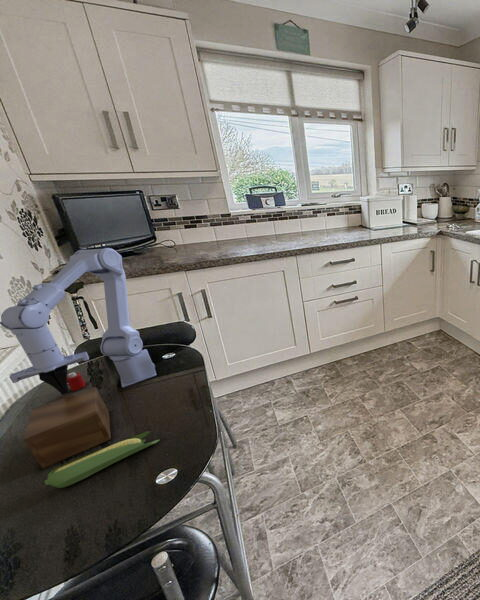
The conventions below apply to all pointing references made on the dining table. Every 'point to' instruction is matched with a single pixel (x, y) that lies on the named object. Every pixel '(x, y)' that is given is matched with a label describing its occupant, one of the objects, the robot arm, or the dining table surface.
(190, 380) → the dining table surface
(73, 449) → the cabinet
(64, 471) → the edible corn
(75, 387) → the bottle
